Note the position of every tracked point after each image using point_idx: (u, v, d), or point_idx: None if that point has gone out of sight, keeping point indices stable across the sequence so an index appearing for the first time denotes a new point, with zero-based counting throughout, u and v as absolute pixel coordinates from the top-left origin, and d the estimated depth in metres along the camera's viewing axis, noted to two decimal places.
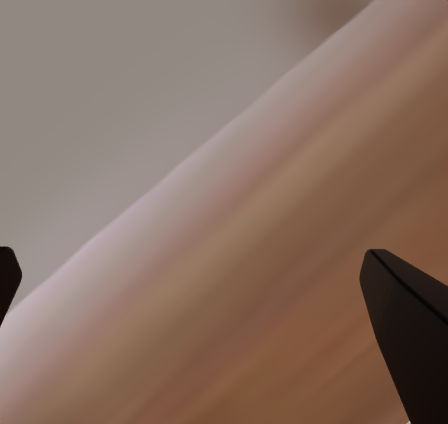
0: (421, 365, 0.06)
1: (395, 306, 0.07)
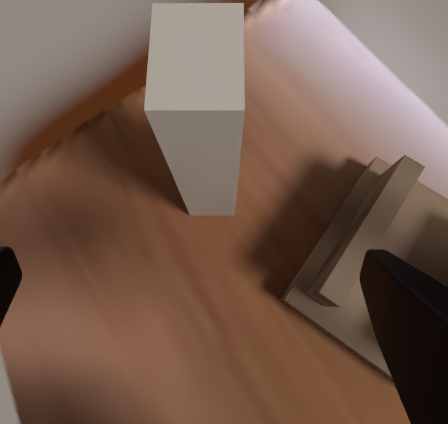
0: (421, 365, 0.06)
1: (395, 306, 0.07)
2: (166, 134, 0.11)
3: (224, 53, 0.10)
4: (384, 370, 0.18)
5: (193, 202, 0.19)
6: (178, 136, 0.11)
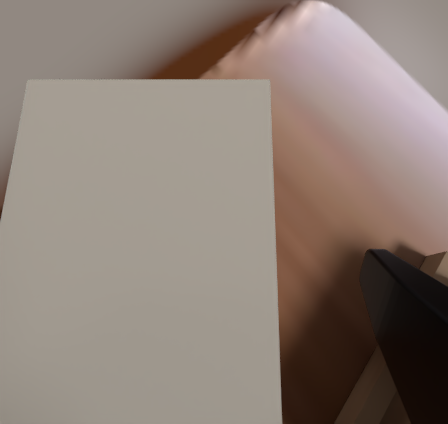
0: (421, 365, 0.06)
1: (395, 306, 0.07)
2: None
3: (217, 239, 0.04)
4: None
5: None
6: None
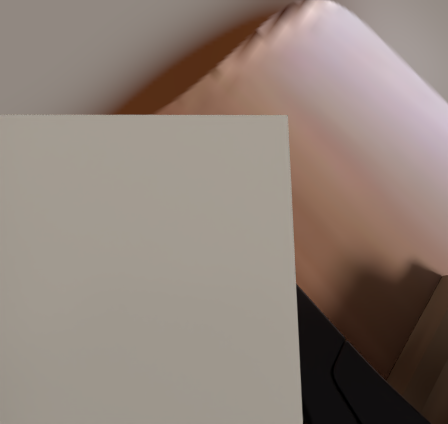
0: None
1: None
2: None
3: (212, 362, 0.02)
4: None
5: None
6: None
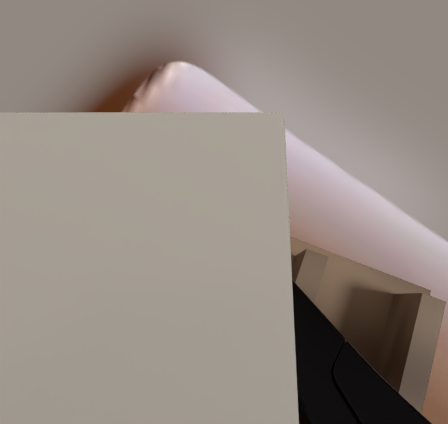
0: None
1: None
2: None
3: (207, 358, 0.02)
4: None
5: None
6: None
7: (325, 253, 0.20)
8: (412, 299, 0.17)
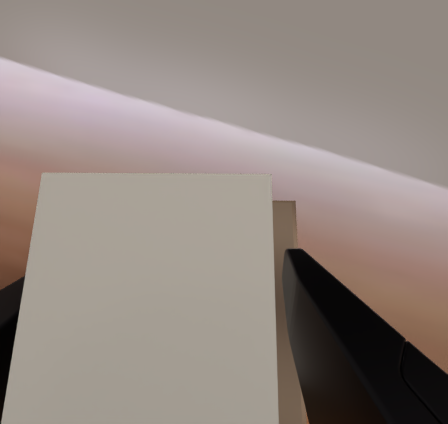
0: (312, 364, 0.06)
1: (298, 305, 0.07)
2: None
3: (221, 336, 0.04)
4: None
5: None
6: None
7: None
8: None
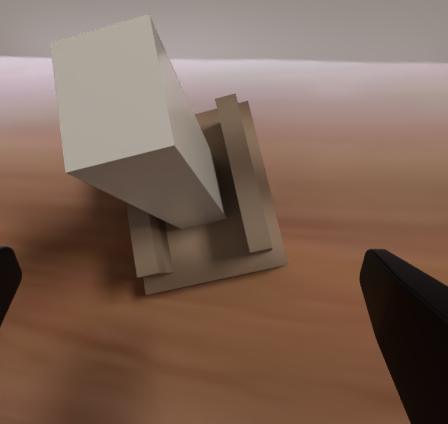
0: (421, 365, 0.06)
1: (395, 306, 0.07)
2: (106, 183, 0.10)
3: (138, 82, 0.09)
4: (246, 272, 0.20)
5: (178, 220, 0.18)
6: (120, 181, 0.10)
7: None
8: None
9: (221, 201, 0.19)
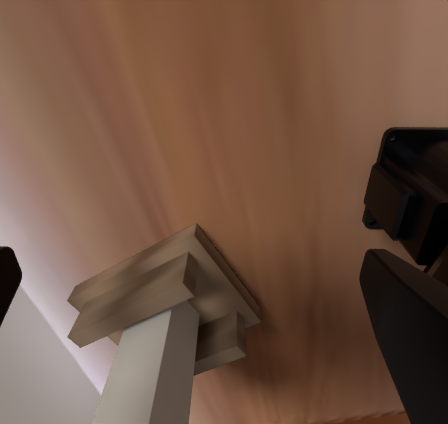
0: (421, 365, 0.06)
1: (395, 306, 0.07)
2: None
3: None
4: (214, 263, 0.22)
5: (191, 344, 0.21)
6: None
7: None
8: None
9: (162, 312, 0.21)
